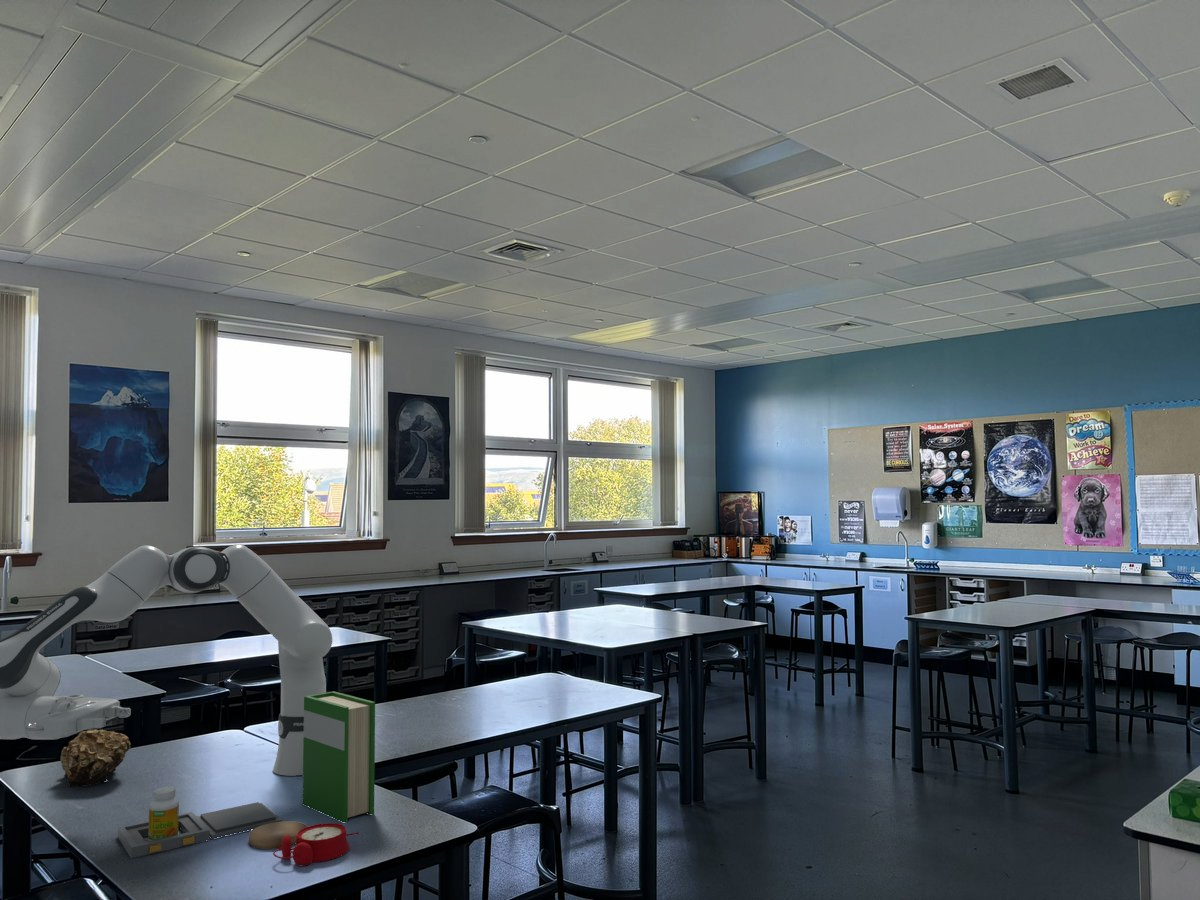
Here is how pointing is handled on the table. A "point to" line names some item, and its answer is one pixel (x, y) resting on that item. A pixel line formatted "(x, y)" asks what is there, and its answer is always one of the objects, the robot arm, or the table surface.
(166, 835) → the supplement bottle
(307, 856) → the alarm clock
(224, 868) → the table surface
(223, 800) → the table surface
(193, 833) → the equipment case
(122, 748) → the fossil
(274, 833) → the round brown pad
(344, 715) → the hardback book
